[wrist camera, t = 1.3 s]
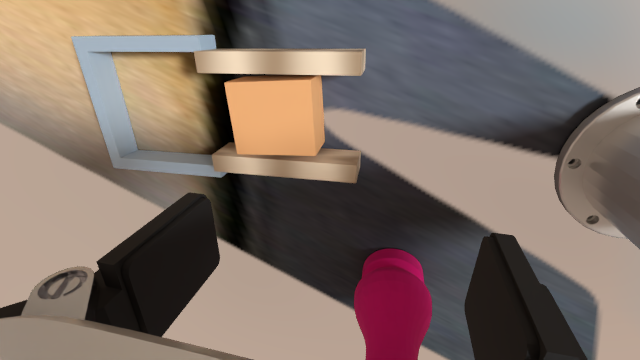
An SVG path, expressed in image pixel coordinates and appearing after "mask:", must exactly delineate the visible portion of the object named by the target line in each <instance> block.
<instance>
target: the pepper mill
mask: <svg viewBox="0 0 640 360" xmlns="http://www.w3.org/2000/svg"><path fill="white" fill-rule="evenodd" d="M354 308H355V314H356V318H357V321H358V323H359V326H360V329H361V331H362V333H363V336H364V339H365V343H366V360H418V353H419V348H420V345H421V343H422V341H423V339H424V336H425V334H426V332H427V330H428V328H429V324H430V320H431V317H432V300H431V296H430V293H429V290H428V289H427V287H426V286H425V284H424V278H423V270H422V267H421V265H420V263H419V261H418V260H417V259H416V258H415V257H414V256H412V255H411V254H409V253H408V252H405V251H403V250H400V249H382V250H378V251H376V252H374V253H372V254H371V255H370V256H369V257H368V258H367V259H366V261H365V263H364V266H363V272H362V279H361V280H360V281H359V283H358V285H357V286H356V289H355V295H354Z"/></svg>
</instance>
